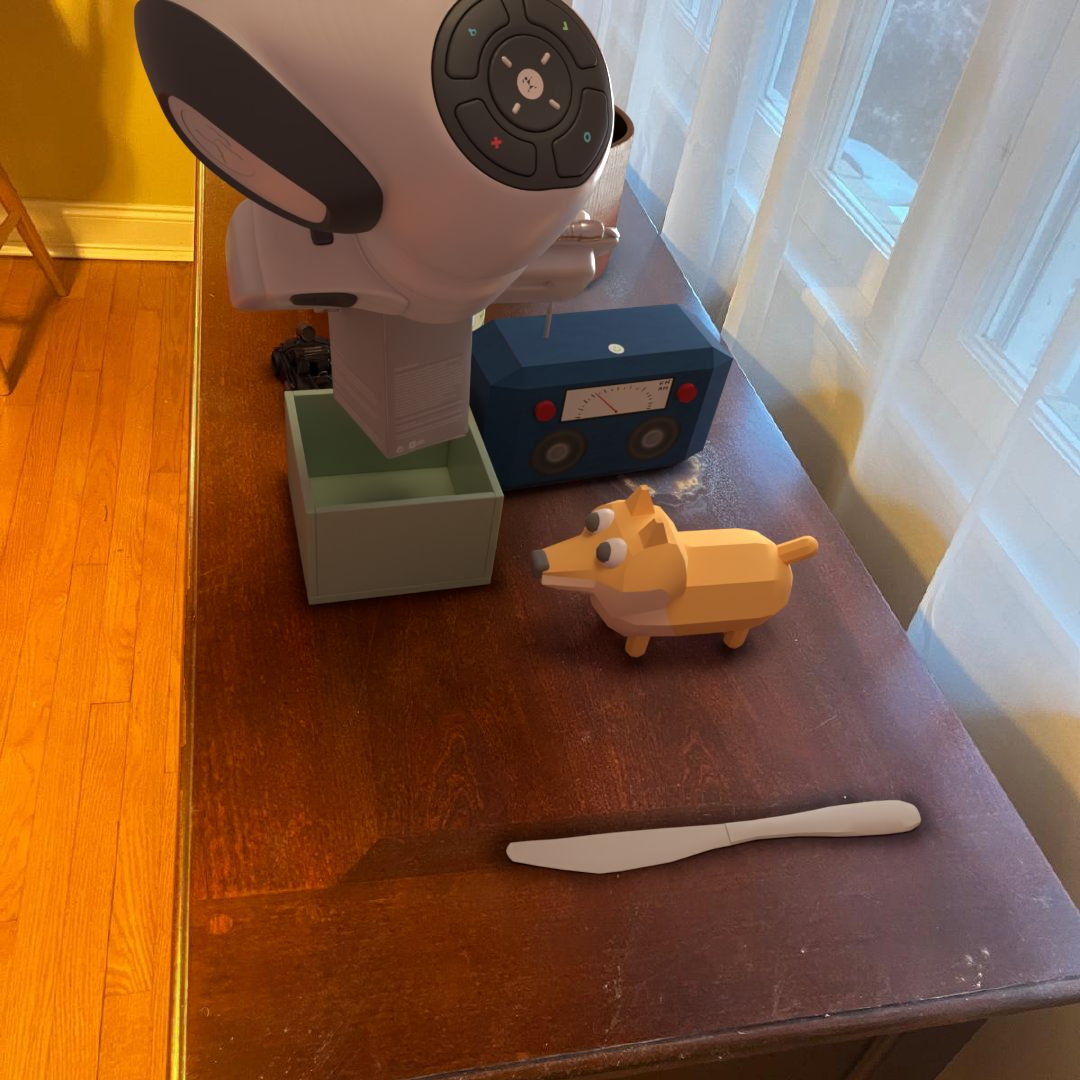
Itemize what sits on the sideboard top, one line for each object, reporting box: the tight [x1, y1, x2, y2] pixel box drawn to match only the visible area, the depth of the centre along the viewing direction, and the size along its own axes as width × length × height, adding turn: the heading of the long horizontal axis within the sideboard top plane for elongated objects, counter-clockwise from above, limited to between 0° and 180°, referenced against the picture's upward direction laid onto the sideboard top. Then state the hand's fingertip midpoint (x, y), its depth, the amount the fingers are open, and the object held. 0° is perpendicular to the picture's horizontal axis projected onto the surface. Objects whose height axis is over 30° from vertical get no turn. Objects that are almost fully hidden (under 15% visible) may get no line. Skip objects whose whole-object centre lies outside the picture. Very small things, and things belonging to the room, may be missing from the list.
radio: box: [469, 302, 734, 492], centre depth 78 cm, size 21×9×20 cm, turn 112°
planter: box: [582, 104, 635, 283], centre depth 104 cm, size 18×18×16 cm
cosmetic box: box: [327, 308, 473, 459], centre depth 62 cm, size 8×7×16 cm
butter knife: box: [505, 799, 922, 875], centre depth 60 cm, size 1×27×3 cm
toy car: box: [270, 322, 333, 392], centre depth 85 cm, size 6×12×4 cm, turn 22°
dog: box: [528, 484, 819, 658], centre depth 67 cm, size 8×20×13 cm, turn 103°
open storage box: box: [283, 389, 505, 606], centre depth 72 cm, size 13×13×9 cm
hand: (394, 297), depth 62 cm, fingers closed on cosmetic box, 7 cm apart
